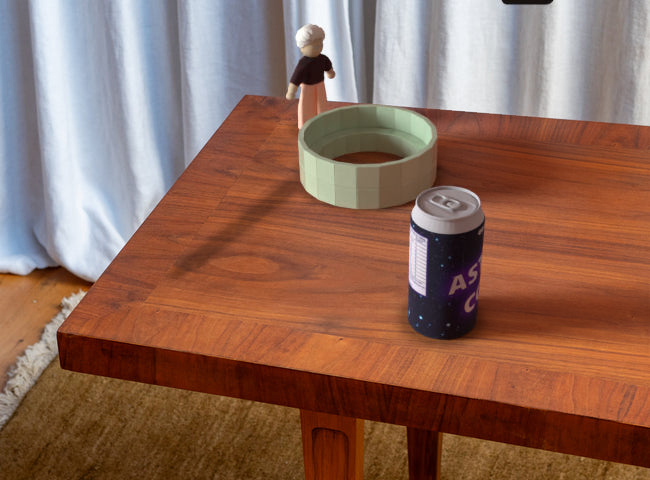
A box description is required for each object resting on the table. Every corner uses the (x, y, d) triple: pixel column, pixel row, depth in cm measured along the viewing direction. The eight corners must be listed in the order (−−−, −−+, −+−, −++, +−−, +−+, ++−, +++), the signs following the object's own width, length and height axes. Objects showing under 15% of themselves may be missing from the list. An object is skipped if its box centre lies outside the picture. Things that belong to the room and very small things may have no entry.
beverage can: (448, 357, 71) (457, 230, 63) (393, 329, 74) (395, 204, 66) (489, 323, 74) (501, 198, 67) (434, 298, 77) (440, 175, 70)
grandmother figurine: (313, 148, 100) (307, 38, 92) (284, 141, 102) (276, 33, 94) (346, 121, 105) (343, 15, 97) (318, 115, 107) (313, 10, 99)
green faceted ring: (430, 148, 99) (432, 102, 96) (439, 214, 88) (442, 165, 84) (304, 151, 100) (302, 105, 96) (297, 217, 89) (294, 168, 85)
